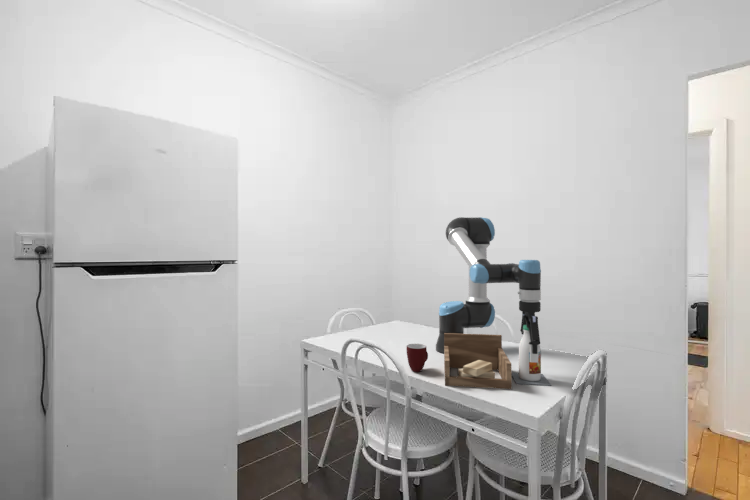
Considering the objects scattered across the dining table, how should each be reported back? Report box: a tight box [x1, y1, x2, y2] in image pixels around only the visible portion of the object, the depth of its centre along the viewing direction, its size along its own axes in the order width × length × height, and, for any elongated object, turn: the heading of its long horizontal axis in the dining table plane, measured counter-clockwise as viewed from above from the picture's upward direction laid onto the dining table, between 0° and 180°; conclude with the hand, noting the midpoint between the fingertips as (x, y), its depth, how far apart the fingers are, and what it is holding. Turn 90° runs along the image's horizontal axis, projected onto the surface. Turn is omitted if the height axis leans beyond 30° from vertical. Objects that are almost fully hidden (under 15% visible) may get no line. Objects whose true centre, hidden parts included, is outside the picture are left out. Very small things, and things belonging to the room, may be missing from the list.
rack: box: [443, 333, 513, 390], centre depth 145 cm, size 23×23×14 cm
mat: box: [511, 371, 552, 387], centre depth 142 cm, size 12×12×1 cm
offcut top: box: [462, 360, 493, 377], centre depth 139 cm, size 6×11×2 cm, turn 134°
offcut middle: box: [457, 368, 496, 378], centre depth 140 cm, size 6×12×2 cm, turn 95°
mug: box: [406, 343, 429, 373], centre depth 154 cm, size 10×8×10 cm
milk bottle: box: [518, 325, 542, 381], centre depth 142 cm, size 8×8×20 cm
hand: (529, 356), depth 142 cm, fingers open, 13 cm apart
